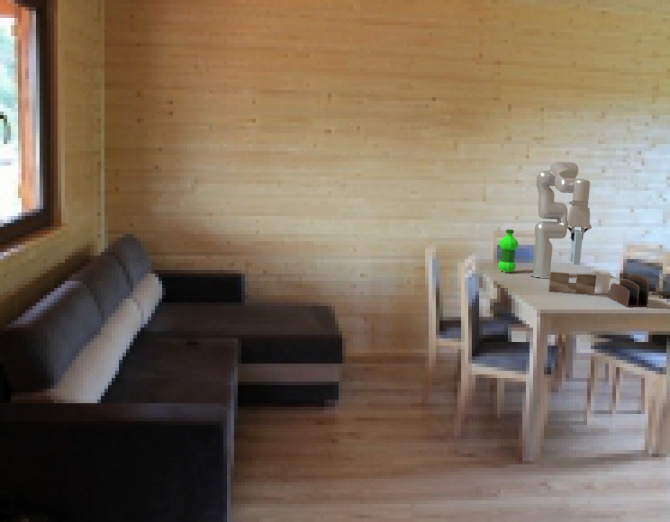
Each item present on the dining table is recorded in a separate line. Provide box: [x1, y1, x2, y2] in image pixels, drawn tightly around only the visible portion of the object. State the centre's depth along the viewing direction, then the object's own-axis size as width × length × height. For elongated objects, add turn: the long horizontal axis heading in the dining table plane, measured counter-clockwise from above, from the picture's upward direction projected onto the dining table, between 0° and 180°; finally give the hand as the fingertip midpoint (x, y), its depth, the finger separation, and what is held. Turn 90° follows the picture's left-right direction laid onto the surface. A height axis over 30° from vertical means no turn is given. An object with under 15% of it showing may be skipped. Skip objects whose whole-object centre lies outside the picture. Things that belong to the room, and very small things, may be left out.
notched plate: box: [569, 229, 584, 266], centre depth 354 cm, size 14×3×16 cm, turn 169°
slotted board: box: [548, 271, 596, 296], centre depth 357 cm, size 3×22×10 cm, turn 79°
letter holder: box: [608, 272, 650, 308], centre depth 339 cm, size 10×20×14 cm, turn 3°
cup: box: [592, 270, 611, 294], centre depth 365 cm, size 8×12×10 cm
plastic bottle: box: [498, 228, 519, 273], centre depth 408 cm, size 10×10×25 cm
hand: (576, 240), depth 353 cm, fingers closed on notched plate, 3 cm apart
